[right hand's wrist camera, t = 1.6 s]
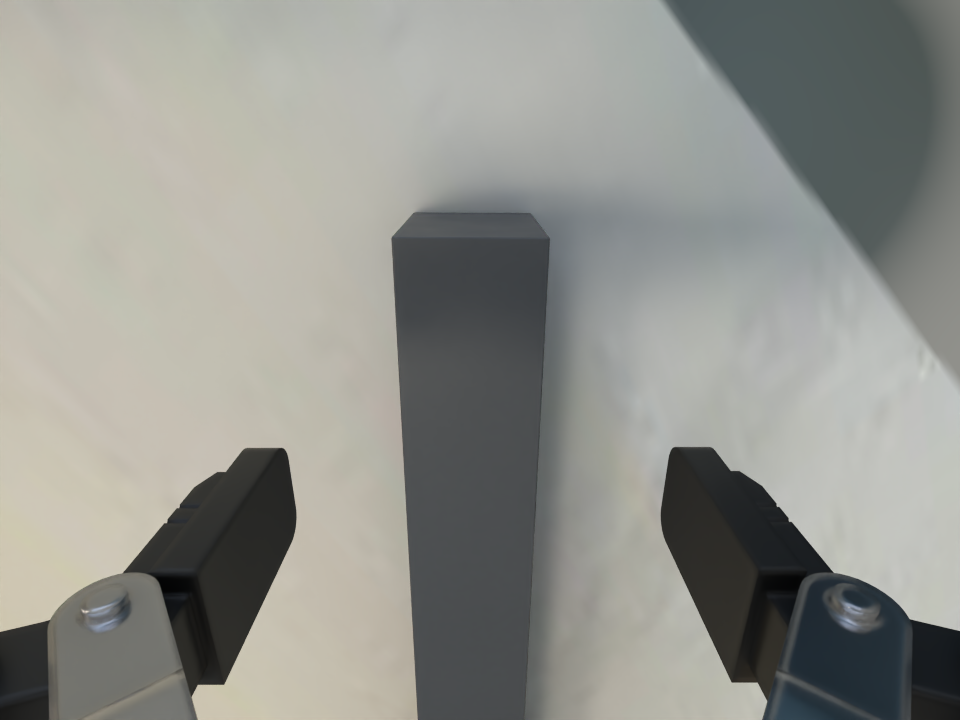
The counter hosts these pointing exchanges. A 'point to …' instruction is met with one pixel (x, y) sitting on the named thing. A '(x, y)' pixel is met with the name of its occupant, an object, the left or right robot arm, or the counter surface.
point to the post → (470, 451)
